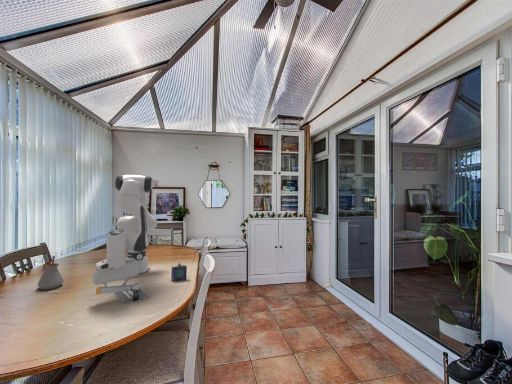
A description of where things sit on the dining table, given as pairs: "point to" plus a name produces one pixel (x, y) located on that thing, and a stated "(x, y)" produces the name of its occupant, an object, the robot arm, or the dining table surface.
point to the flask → (179, 272)
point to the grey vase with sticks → (50, 277)
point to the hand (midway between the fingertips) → (116, 288)
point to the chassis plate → (127, 300)
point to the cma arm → (118, 288)
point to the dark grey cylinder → (136, 295)
